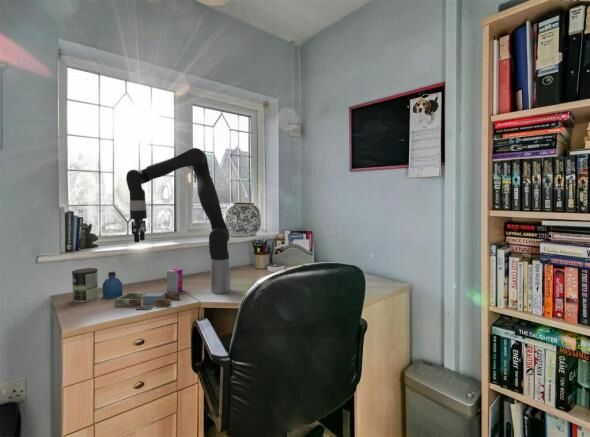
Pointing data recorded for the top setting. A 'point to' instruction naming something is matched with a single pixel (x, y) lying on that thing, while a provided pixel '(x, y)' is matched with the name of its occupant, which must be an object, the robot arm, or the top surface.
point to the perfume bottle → (112, 286)
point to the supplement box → (174, 280)
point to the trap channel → (135, 298)
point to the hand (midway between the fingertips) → (139, 241)
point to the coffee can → (85, 284)
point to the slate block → (152, 297)
